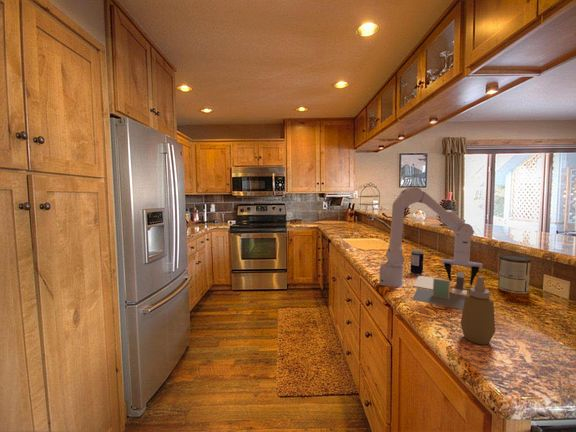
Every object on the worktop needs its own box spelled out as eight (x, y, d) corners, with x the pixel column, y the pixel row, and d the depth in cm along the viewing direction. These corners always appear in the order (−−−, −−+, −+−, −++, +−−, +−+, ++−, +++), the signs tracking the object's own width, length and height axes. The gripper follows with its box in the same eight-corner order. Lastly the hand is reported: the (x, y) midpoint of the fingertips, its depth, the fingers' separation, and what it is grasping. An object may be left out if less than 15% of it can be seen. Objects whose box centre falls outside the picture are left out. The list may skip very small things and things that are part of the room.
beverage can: (424, 275, 137) (425, 252, 136) (411, 275, 138) (412, 251, 137) (420, 272, 142) (422, 249, 141) (409, 271, 143) (410, 249, 142)
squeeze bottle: (453, 332, 81) (456, 273, 80) (478, 331, 82) (482, 272, 81) (473, 348, 73) (478, 282, 72) (502, 346, 74) (506, 281, 73)
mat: (411, 301, 105) (411, 299, 105) (417, 289, 117) (417, 288, 117) (471, 313, 95) (471, 311, 95) (471, 299, 107) (471, 297, 107)
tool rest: (413, 287, 119) (413, 285, 119) (418, 277, 134) (418, 275, 134) (433, 291, 115) (433, 289, 115) (437, 280, 129) (437, 278, 129)
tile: (432, 295, 109) (433, 278, 108) (433, 294, 110) (433, 277, 109) (448, 298, 106) (449, 281, 105) (448, 297, 107) (449, 279, 106)
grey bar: (451, 294, 112) (452, 280, 111) (453, 284, 124) (454, 271, 124) (466, 297, 109) (467, 282, 108) (466, 286, 121) (467, 273, 121)
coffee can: (493, 284, 124) (495, 253, 123) (521, 287, 121) (524, 255, 120) (503, 292, 115) (505, 259, 113) (533, 295, 111) (536, 261, 110)
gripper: (482, 251, 116) (480, 283, 117) (443, 247, 124) (441, 277, 125) (483, 254, 110) (481, 287, 111) (441, 250, 118) (440, 281, 119)
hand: (460, 282), depth 117 cm, fingers open, 7 cm apart
